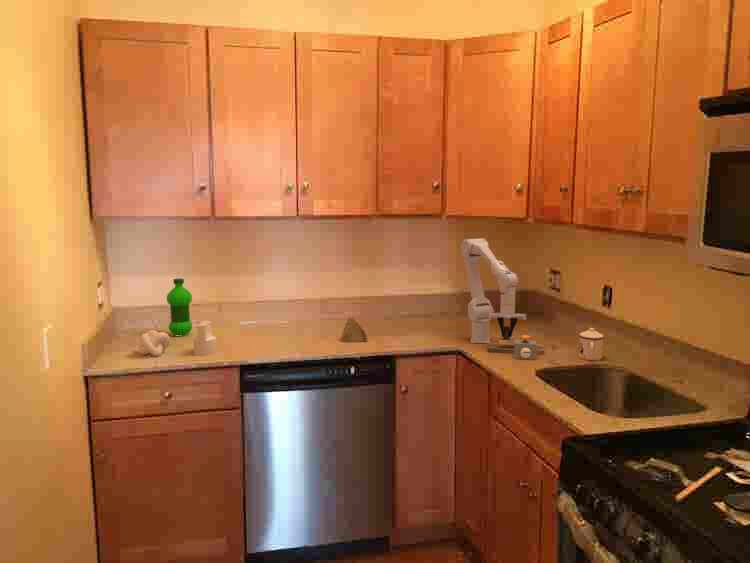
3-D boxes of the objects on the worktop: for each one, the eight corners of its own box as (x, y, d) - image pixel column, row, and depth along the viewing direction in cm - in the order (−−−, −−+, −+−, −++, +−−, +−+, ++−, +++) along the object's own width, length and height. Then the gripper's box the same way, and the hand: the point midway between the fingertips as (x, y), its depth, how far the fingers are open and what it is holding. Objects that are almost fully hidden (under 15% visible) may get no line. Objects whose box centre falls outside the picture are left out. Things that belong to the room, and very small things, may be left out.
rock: (373, 334, 271) (354, 328, 276) (368, 321, 265) (349, 315, 270) (360, 353, 265) (341, 346, 270) (355, 340, 259) (336, 334, 264)
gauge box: (513, 354, 248) (514, 339, 247) (534, 355, 247) (535, 340, 246) (514, 359, 241) (515, 344, 240) (536, 360, 240) (536, 344, 239)
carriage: (498, 343, 258) (498, 325, 256) (513, 344, 257) (513, 325, 256) (498, 347, 252) (499, 328, 251) (514, 347, 251) (514, 328, 250)
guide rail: (489, 345, 256) (489, 342, 256) (541, 347, 253) (542, 344, 253) (489, 346, 255) (489, 343, 254) (542, 348, 251) (542, 345, 251)
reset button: (520, 340, 245) (520, 334, 245) (529, 341, 245) (529, 335, 244) (520, 343, 242) (521, 336, 241) (530, 343, 241) (530, 337, 241)
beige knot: (129, 355, 245) (128, 333, 244) (153, 348, 255) (152, 327, 254) (150, 359, 240) (149, 336, 238) (174, 352, 250) (173, 330, 249)
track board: (487, 346, 260) (487, 342, 260) (542, 348, 257) (542, 345, 256) (487, 352, 251) (488, 348, 251) (544, 354, 248) (544, 350, 248)
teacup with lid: (577, 353, 250) (579, 324, 248) (602, 355, 247) (603, 326, 245) (578, 361, 238) (579, 331, 237) (603, 363, 236) (605, 333, 234)
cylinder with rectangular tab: (213, 355, 245) (212, 325, 243) (190, 355, 245) (189, 325, 243) (219, 349, 254) (218, 320, 252) (197, 349, 254) (196, 320, 252)
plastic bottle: (168, 333, 281) (165, 278, 277) (193, 331, 285) (190, 277, 281) (168, 338, 272) (165, 281, 268) (193, 336, 275) (191, 280, 271)
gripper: (489, 304, 249) (488, 337, 251) (527, 305, 246) (525, 339, 249) (489, 301, 256) (488, 333, 258) (525, 302, 253) (524, 335, 255)
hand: (506, 336), depth 254 cm, fingers closed on carriage, 2 cm apart
